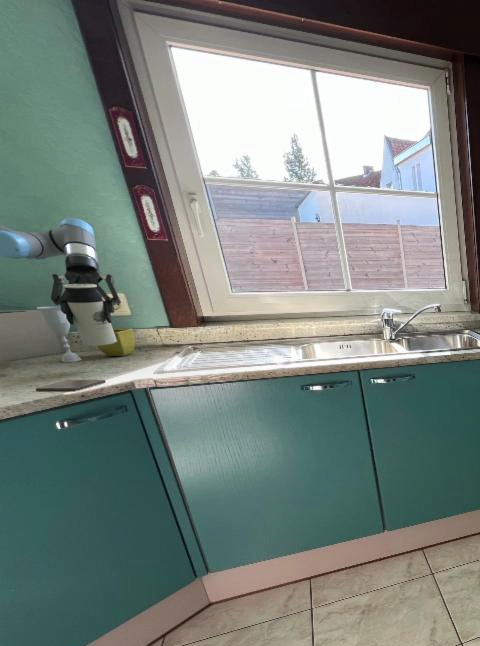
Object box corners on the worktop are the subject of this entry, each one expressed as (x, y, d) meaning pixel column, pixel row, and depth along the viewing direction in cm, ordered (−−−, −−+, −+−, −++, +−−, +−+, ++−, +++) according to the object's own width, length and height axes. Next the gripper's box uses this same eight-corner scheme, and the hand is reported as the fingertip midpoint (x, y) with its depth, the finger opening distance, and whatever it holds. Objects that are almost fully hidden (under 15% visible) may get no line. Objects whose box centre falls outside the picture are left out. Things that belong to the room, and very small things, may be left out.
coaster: (36, 391, 136) (35, 388, 135) (69, 382, 145) (68, 379, 145) (75, 391, 137) (74, 388, 136) (105, 382, 146) (104, 379, 145)
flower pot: (97, 357, 176) (88, 332, 173) (114, 353, 184) (105, 328, 181) (126, 357, 178) (117, 332, 175) (141, 352, 186) (133, 328, 183)
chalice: (52, 363, 167) (31, 308, 160) (63, 359, 173) (42, 306, 166) (80, 361, 170) (61, 308, 163) (90, 358, 175) (71, 306, 169)
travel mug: (77, 343, 156) (55, 284, 149) (109, 339, 163) (89, 283, 156) (91, 347, 154) (69, 287, 146) (122, 342, 160) (103, 285, 153)
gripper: (128, 270, 167) (137, 326, 161) (41, 270, 156) (47, 330, 150) (121, 254, 161) (130, 312, 155) (29, 253, 149) (35, 315, 144)
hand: (89, 321), depth 153 cm, fingers closed on travel mug, 8 cm apart
